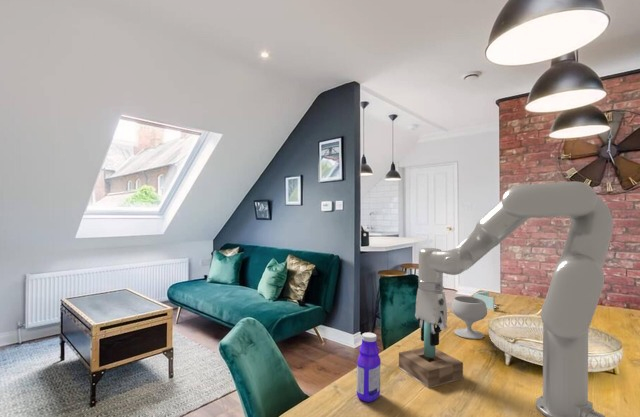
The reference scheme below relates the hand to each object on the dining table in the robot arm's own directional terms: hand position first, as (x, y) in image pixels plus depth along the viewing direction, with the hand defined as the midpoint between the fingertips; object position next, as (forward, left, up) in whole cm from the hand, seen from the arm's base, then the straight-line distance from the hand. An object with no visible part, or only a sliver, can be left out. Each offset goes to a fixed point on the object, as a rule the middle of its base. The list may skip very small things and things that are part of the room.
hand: (429, 342), depth 109 cm
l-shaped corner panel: (+46, -86, -11) cm, 98 cm away
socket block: (0, 0, -10) cm, 10 cm away
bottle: (-4, +26, -10) cm, 28 cm away
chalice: (+20, -40, -10) cm, 46 cm away
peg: (0, 0, -4) cm, 4 cm away
